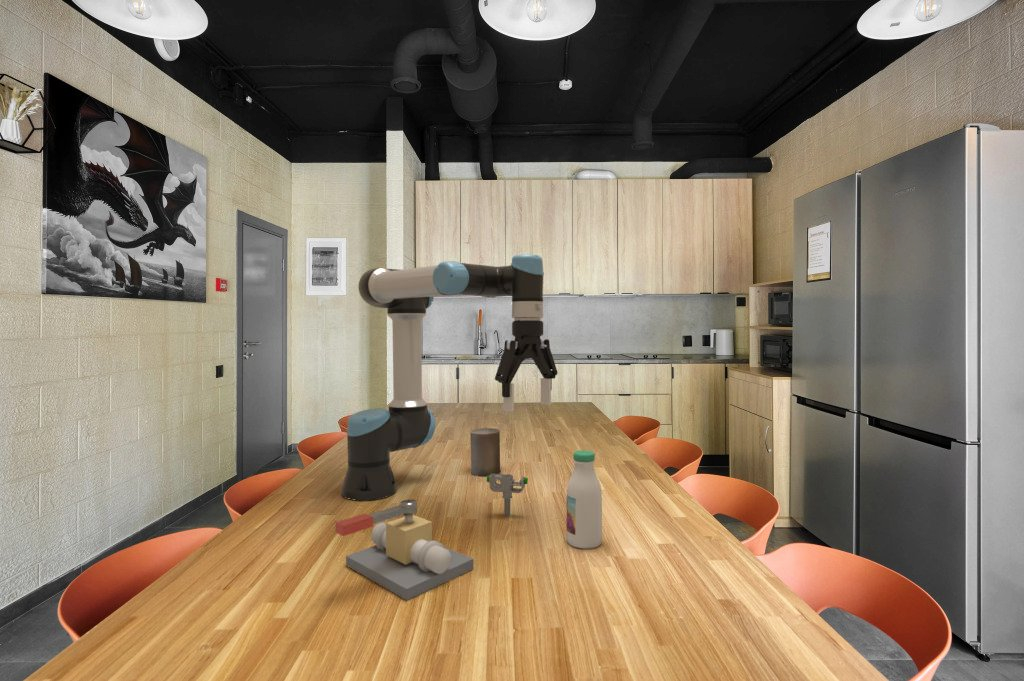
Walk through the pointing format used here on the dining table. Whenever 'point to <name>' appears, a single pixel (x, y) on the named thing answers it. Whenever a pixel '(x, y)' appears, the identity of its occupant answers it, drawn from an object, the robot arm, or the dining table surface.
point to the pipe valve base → (408, 558)
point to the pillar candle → (485, 451)
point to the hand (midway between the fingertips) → (528, 407)
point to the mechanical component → (506, 487)
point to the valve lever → (374, 518)
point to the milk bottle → (584, 503)
